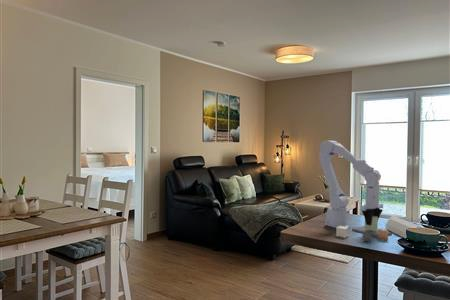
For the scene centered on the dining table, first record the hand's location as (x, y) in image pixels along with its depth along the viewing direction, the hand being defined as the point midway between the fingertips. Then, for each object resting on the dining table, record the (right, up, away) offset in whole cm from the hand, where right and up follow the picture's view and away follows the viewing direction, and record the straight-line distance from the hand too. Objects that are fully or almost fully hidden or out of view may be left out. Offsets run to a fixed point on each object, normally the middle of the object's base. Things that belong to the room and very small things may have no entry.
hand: (371, 224), depth 154 cm
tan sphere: (0, -4, -10) cm, 11 cm away
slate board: (0, -4, 0) cm, 4 cm away
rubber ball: (-9, -4, -15) cm, 17 cm away
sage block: (0, -2, 0) cm, 2 cm away
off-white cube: (-16, -4, -6) cm, 18 cm away
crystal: (+14, -5, -3) cm, 15 cm away
